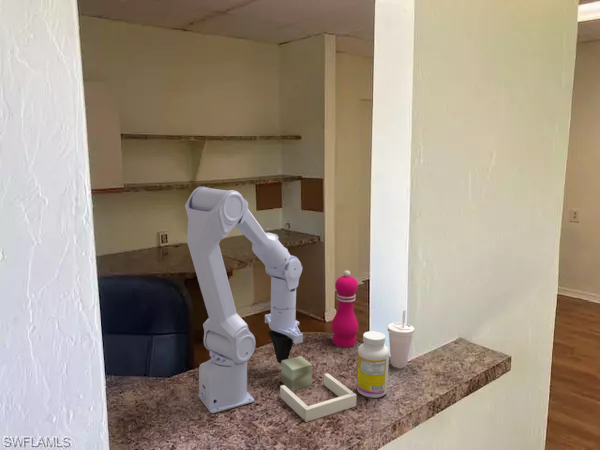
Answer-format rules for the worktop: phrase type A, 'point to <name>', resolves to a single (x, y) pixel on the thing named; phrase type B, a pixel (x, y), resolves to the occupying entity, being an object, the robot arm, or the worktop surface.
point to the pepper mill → (345, 312)
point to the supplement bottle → (372, 365)
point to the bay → (323, 408)
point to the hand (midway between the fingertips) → (282, 361)
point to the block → (296, 373)
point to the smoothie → (400, 342)
